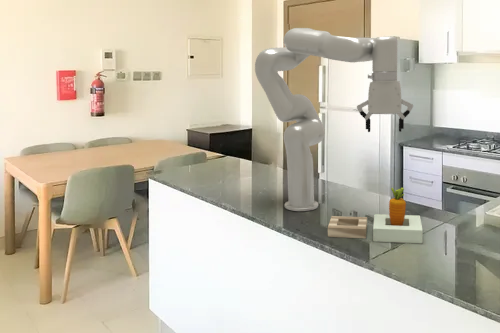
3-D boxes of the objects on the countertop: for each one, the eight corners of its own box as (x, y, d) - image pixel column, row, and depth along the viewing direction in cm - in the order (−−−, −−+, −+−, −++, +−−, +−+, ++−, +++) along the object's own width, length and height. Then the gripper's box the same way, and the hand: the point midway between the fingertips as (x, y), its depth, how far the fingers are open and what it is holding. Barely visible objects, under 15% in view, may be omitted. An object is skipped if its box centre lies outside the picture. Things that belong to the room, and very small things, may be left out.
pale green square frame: (374, 226, 167) (374, 214, 166) (419, 227, 163) (419, 215, 162) (373, 241, 154) (373, 228, 153) (422, 243, 150) (422, 230, 149)
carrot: (384, 232, 160) (386, 186, 157) (398, 230, 162) (400, 184, 158) (394, 237, 156) (396, 190, 152) (408, 235, 157) (410, 188, 154)
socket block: (331, 224, 170) (331, 216, 170) (367, 226, 167) (367, 217, 167) (327, 236, 159) (327, 227, 159) (365, 238, 156) (365, 229, 156)
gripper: (355, 79, 159) (356, 133, 163) (414, 76, 155) (413, 132, 159) (357, 77, 167) (357, 129, 170) (413, 75, 162) (412, 129, 166)
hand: (384, 131), depth 164 cm, fingers open, 9 cm apart
